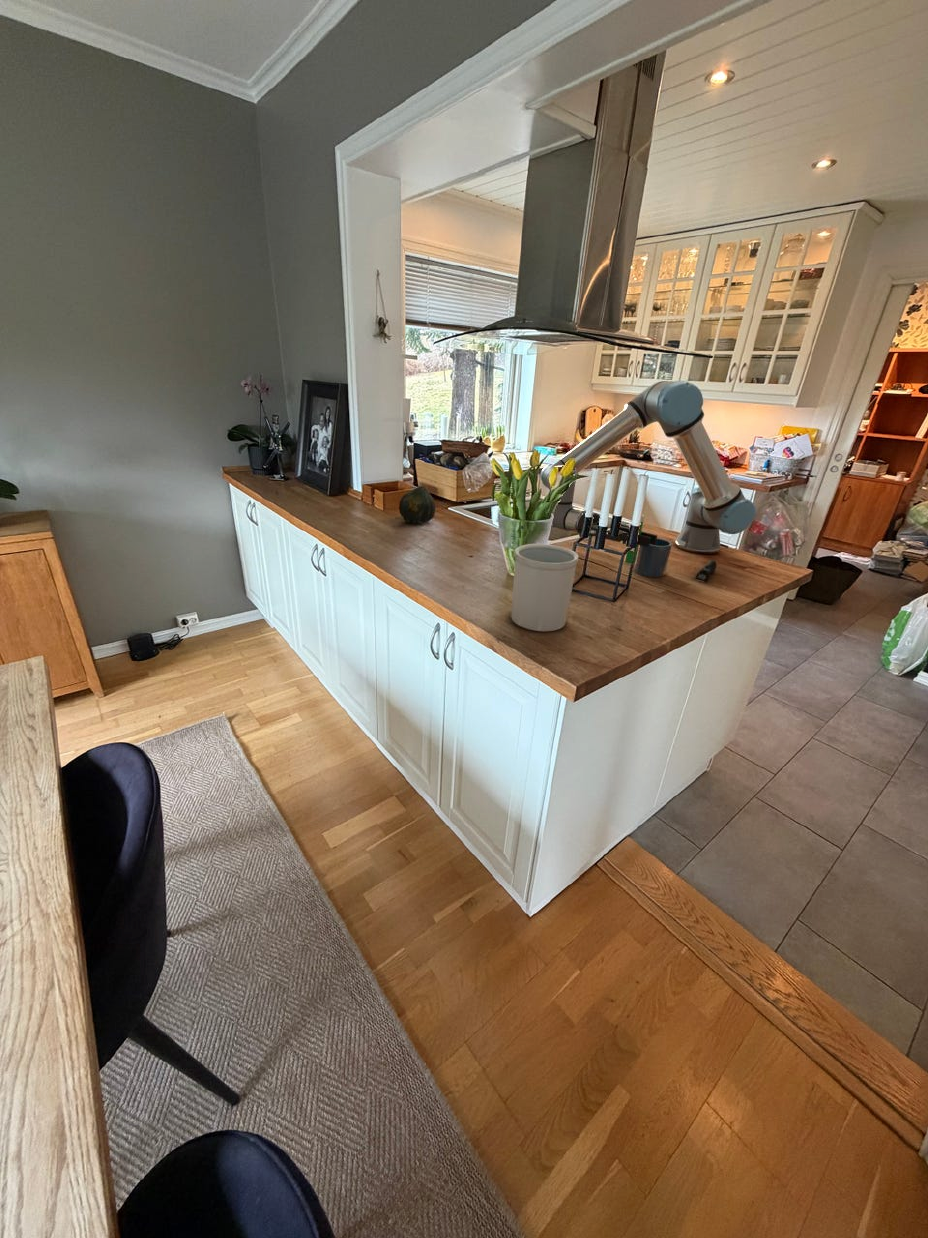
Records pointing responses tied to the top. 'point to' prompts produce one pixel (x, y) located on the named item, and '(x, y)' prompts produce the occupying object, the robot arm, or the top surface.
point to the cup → (653, 559)
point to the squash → (417, 505)
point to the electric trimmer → (706, 572)
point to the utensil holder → (542, 586)
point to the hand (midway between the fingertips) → (652, 541)
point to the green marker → (630, 554)
